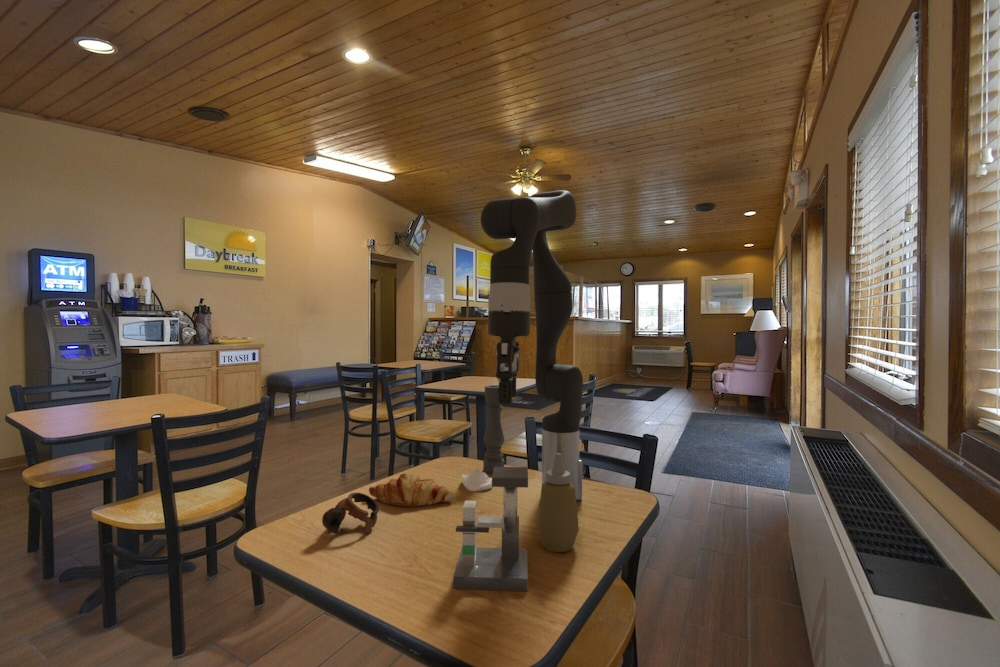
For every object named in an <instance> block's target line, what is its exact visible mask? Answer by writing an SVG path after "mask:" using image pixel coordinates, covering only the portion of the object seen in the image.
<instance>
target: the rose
mask: <svg viewBox="0 0 1000 667" xmlns="http://www.w3.org/2000/svg"><path fill="white" fill-rule="evenodd" d="M461 482H462V484H463V486H464V487H465V489H466V490H467V491H469V492H481V491H487V490H489V489H491V488H493V487H492V477H489V476H488V473H485V472H484V471H481V470H480V469H473V470H472V471H468V473H467V475H466V474H461Z"/></svg>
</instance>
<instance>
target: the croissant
mask: <svg viewBox="0 0 1000 667" xmlns="http://www.w3.org/2000/svg"><path fill="white" fill-rule="evenodd" d="M368 492H369V494H370V496H371V497H374V498H376V499H377V500H379V501H380V502H382V503H384V504H386V505H388V504H389V505H392V506H396V507H409V508H411V507H420V506H425V505H428V506H429V505H433V504H437V503H443V504H444V503H447V502H450V501H452V500H453V499H454V498H455V493H454V492H453V491H451V490H450V489H449V488H448V487H447V486H445V485H440V484H439V483H437V482H436V481H434V479H433V478H431V479H430V478H429V479H424V478H423V479H422V478H421V477H420V476H419V475H417V474H415V473H414V474H413V473H401V474H399V477H398V478H392V479H390V480H388V482H387V483H378V484H377V485H375V486H370V487H369V488H368Z"/></svg>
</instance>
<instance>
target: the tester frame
mask: <svg viewBox="0 0 1000 667" xmlns="http://www.w3.org/2000/svg"><path fill="white" fill-rule="evenodd" d="M501 516H503V514H502V515H501ZM462 526H477V500H465V501H464V503H463V506H462ZM457 560H458V561H457V564H456V567H455V571H454V575H453V589H456V590H458V589H459V590H477V591H478V590H479V591H481V590H485V591H508V592H509V591H515V592H528V590H529V589H528V582H529V581H528V578H529V577H528V576H529V575H528V549H527V548H520V516H519V515H517V531H516V532H514V533H506V532H504V531H503V528H501V548H500V547H477V532H462V545H461V548H460V554H459V557H458V559H457Z"/></svg>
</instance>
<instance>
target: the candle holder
mask: <svg viewBox="0 0 1000 667" xmlns="http://www.w3.org/2000/svg"><path fill="white" fill-rule="evenodd" d="M484 398H485V401H486V404H487V405H485V408H484V409H485V410H486V411H487V423H486V427H485V431H484V435H483V443H484V445H485V446H486V449H487V450H486V451H485V453H484V458H483V459H482V460H483V471H482V472H484V473H486V474H487V475H488V474H489V475H493V470H494V467H505V458H503V457H504V453H503V452H502V450H501V449H502V446H503V445H504V443H505V437H504V436H505V435H504V432H503V427H502V422H501V421H502V420H501V412H502V410H503V409H504V406H502V405H501V404H500V403H499V384H489V385H484Z"/></svg>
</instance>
